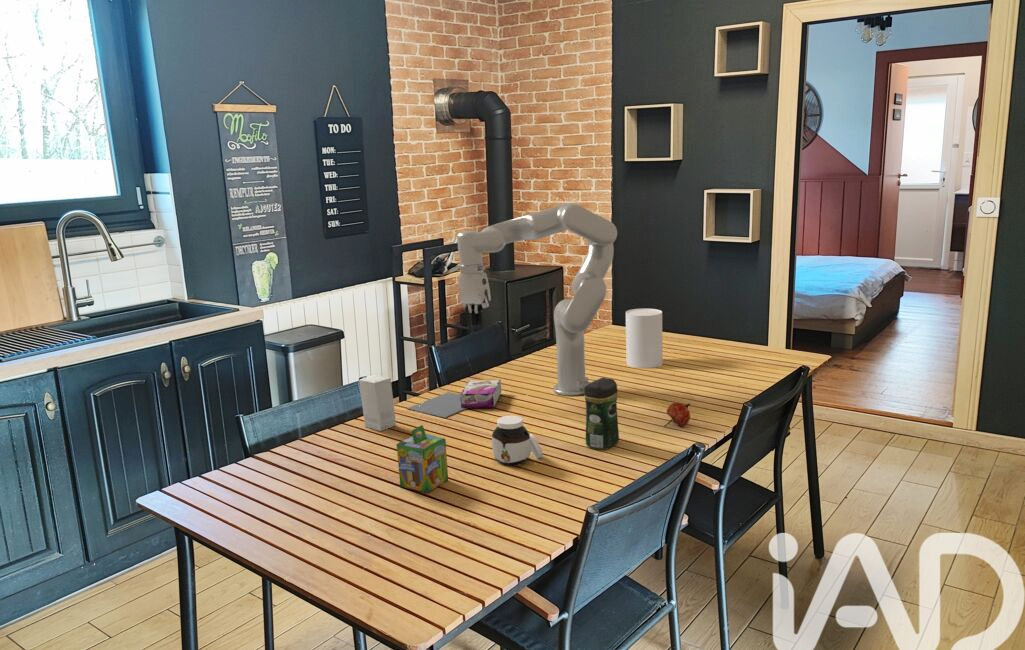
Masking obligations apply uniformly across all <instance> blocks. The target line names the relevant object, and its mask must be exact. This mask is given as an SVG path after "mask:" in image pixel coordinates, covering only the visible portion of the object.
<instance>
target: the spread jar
mask: <svg viewBox="0 0 1025 650" xmlns="http://www.w3.org/2000/svg"><path fill="white" fill-rule="evenodd" d="M496 422H497V425H496V426H497V427H496V428H494V430H493V431H492V434H491V445H492V447H491V448H492V454H493V457H494V459H495V460H496V461H497V462H498V463H499V464H500V465H503V466H505V467H507V466H508V467H514V466H516V467H517V466H521V465H522V464H524V463H525V462H526V461H527V460H528V459H530V456H531V453H532V454H533V456H534V457H535V458H536V459H540V458H542V457H544V452H543V449H542V447H541V445H540V443H539V441H538V440H537V438H536V437H535V435H534V434H532V433H529V431H528V429H527V428H526V427H525V426H524V419H523V417H521V416H519V415H506V416H505V415H504V416H501V417H499V418H497V420H496Z"/></svg>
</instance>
